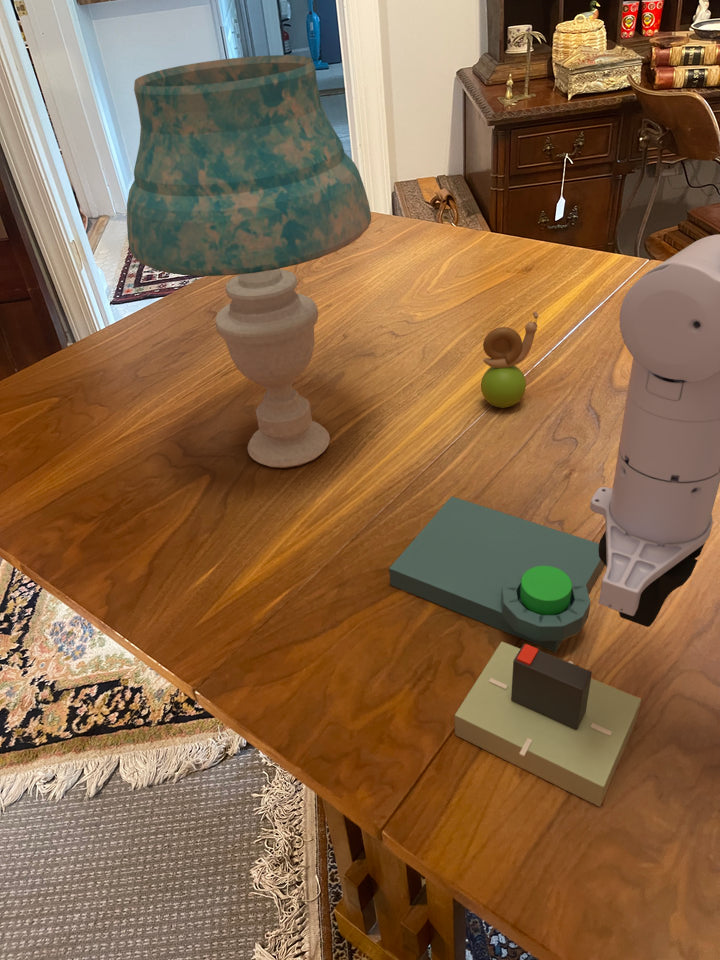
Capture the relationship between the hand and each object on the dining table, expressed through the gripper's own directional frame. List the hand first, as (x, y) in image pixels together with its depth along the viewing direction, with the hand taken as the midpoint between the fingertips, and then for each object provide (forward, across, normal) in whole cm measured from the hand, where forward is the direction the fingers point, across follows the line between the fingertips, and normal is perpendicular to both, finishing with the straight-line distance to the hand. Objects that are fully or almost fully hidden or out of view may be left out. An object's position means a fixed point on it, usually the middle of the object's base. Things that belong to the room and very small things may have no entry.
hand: (637, 615), depth 50 cm
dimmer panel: (+9, +5, -4) cm, 11 cm away
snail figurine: (+10, -36, -26) cm, 45 cm away
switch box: (+9, -7, -13) cm, 18 cm away
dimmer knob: (+7, +5, -4) cm, 9 cm away
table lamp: (+10, -16, -45) cm, 49 cm away
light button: (+6, -4, -8) cm, 11 cm away
